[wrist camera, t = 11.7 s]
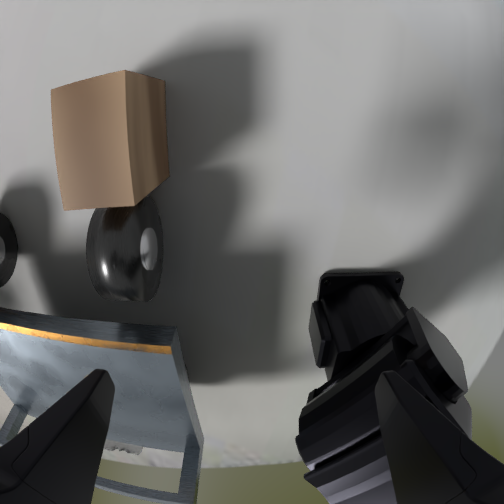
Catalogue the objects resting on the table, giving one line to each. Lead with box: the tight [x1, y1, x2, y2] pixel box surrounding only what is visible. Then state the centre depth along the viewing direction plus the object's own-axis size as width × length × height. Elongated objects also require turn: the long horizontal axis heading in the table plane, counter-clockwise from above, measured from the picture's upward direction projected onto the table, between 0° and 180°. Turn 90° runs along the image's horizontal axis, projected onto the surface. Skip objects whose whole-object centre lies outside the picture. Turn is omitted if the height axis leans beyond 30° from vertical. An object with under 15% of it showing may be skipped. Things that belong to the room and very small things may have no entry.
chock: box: [51, 70, 170, 211], centre depth 14 cm, size 4×6×6 cm, turn 0°
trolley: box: [0, 196, 204, 504], centre depth 17 cm, size 20×20×12 cm
